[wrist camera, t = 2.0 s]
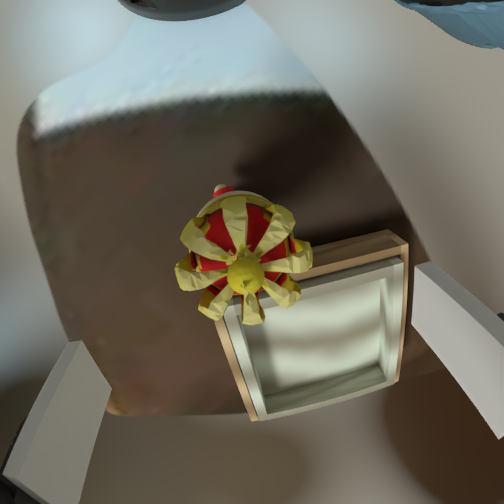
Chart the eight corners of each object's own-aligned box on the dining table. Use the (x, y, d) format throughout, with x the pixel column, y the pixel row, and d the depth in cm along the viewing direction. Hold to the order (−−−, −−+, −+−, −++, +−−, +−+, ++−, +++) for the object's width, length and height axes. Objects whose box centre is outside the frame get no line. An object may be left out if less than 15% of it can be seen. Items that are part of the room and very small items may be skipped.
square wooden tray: (207, 271, 29) (203, 299, 24) (388, 229, 29) (414, 247, 24) (249, 396, 36) (252, 427, 31) (385, 360, 35) (401, 386, 31)
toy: (180, 192, 26) (130, 267, 12) (257, 154, 25) (296, 187, 11) (218, 261, 28) (214, 382, 15) (290, 227, 28) (350, 327, 14)
